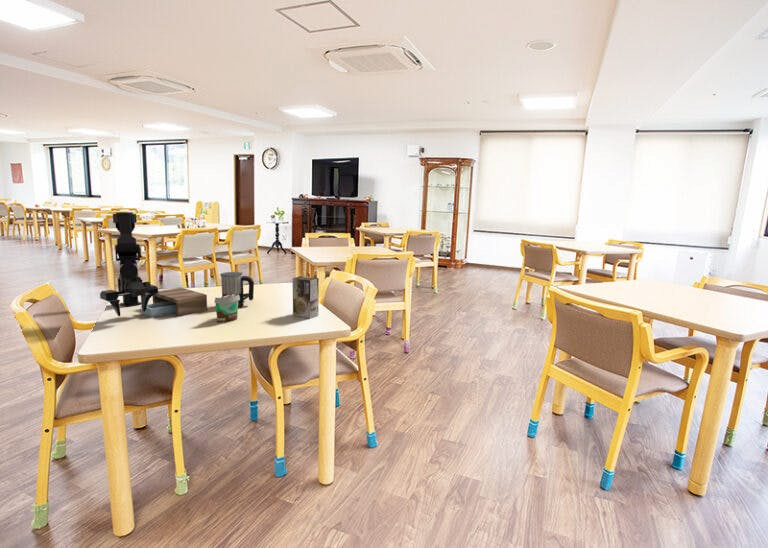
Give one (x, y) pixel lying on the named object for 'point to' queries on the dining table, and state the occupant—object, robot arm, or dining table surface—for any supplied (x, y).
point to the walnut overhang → (183, 300)
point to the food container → (227, 307)
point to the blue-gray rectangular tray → (160, 309)
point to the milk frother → (236, 285)
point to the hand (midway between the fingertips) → (131, 313)
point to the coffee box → (305, 296)
